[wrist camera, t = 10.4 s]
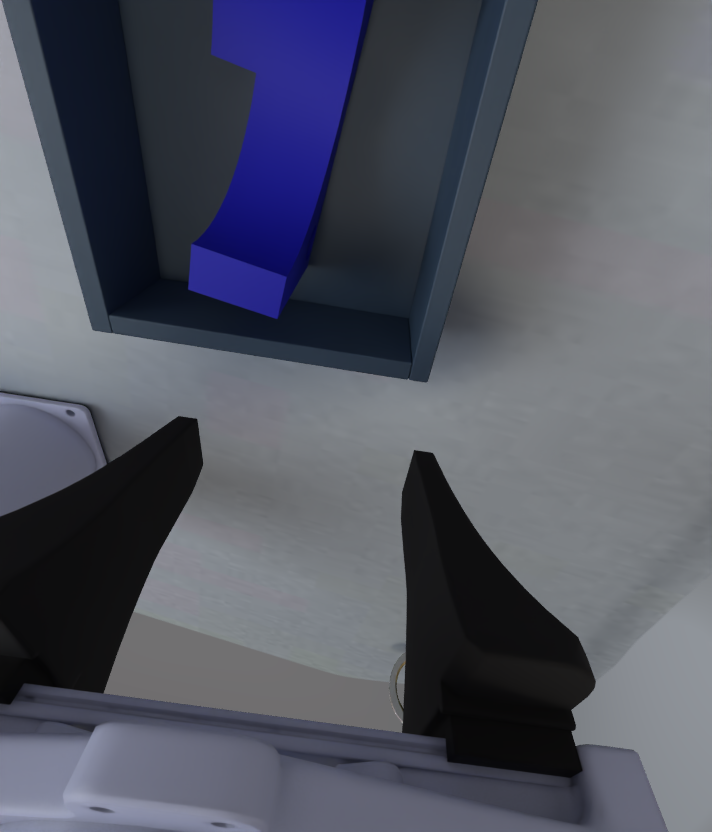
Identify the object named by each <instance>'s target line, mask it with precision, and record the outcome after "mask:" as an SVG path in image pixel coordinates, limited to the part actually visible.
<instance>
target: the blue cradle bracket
mask: <svg viewBox="0 0 712 832" xmlns="http://www.w3.org/2000/svg"><path fill="white" fill-rule="evenodd" d="M373 2H374V0H213V26H212V46H211V55H213V56H216V57H218V58H221V59H223V60H226V61H228V62H231V63H233V64H235V65H238V66H240V67H243V68H245V69H248V70H250V71H252V72H255V73H256V78H255V84H254V91H253V97H252V103H251V108H250V114H249V119H248V123H247V128H246V133H245V137H244V141H243V145H242V149H241V152H240V156H239V159H238V163H237V166H236V169H235V172H234V175H233V178H232V181H231V184H230V186H229V189H228V191H227V194H226V196H225V198H224V201H223V203H222V205H221V207H220V209H219V211H218V213H217V214H216V216H215V218H214V219H213V221H212V223H211V224H210V226H209V227H208V228H207V229H206V231H205V232H204V233H203V234H202V235H201V236H200V237H199V238H198V239H197V240H196V241H195V242H193V243H192V244H191V258H190V272H189V285H188V290H191V291H194V292H197V293H200V294H203V295H206V296H209V297H212V298H215V299H218V300H221V301H224V302H227V303H230V304H233V305H236V306H239V307H242V308H245V309H248V310H251V311H254V312H257V313H260V314H263V315H266V316H269V317H272V318H275V319H278V317H279V315H280V314H281V312H282V310H283V308H284V307H285V305H286V303H287V301H288V300H289V298H290V296H291V294H292V293H293V291H294V289H295V287H296V286H297V284H298V282H299V280H300V279H301V277H302V275H303V274H304V272H305V270H306V268H307V267H308V263H309V259H310V255H311V251H312V247H313V243H314V239H315V235H316V231H317V227H318V223H319V219H320V215H321V211H322V207H323V203H324V199H325V195H326V191H327V187H328V183H329V179H330V175H331V171H332V167H333V163H334V159H335V155H336V151H337V147H338V143H339V139H340V135H341V131H342V127H343V123H344V119H345V115H346V111H347V107H348V103H349V99H350V95H351V91H352V87H353V82H354V78H355V74H356V70H357V66H358V62H359V58H360V54H361V50H362V46H363V42H364V38H365V34H366V30H367V26H368V22H369V18H370V14H371V10H372V6H373Z"/></svg>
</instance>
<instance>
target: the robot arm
mask: <svg viewBox="0 0 712 832" xmlns="http://www.w3.org/2000/svg"><path fill="white" fill-rule="evenodd" d="M202 467H203V457H202V450H201V443H200V436H199V428H198V421H197V419H195V418H188V417H181V416H178V417H177V418H175V419H174V420H172V421H171V422H169V423H168V424H167V425H165V426H164V427H162V428H161V429H159V430H158V431H157V432H155V433H154V434H152V435H151V436H150V437H148V438H147V439H145V440H144V441H142V442H141V443H139V444H138V445H136V446H135V447H133V448H132V449H131V450H129V451H128V452H126V453H125V454H123V455H121V456H120V457H118V458H116V459H115V460H113V461H112V462H110V463H108V464H107V463H106V460H105V456H104V453H103V450H102V447H101V444H100V441H99V438H98V435H97V432H96V429H95V425H94V422H93V419H92V416H91V413H90V411H89V409H88V408H87V407H85V406H83V405H78V404H72V403H65V402H59V401H52V400H46V399H39V398H33V397H26V396H20V395H13V394H7V393H0V832H668V830H667V827H666V825H665V822H664V819H663V817H662V814H661V812H660V809H659V807H658V804H657V802H656V799H655V796H654V794H653V791H652V788H651V786H650V783H649V781H648V778H647V775H646V773H645V770H644V768H643V765H642V762H641V760H640V757H639V755H638V753H637V752H635V751H634V750H630V749H623V748H615V747H608V746H600V745H589V744H585V745H578V746H575V742H574V739H573V736H572V732H571V731H574V730H575V728H576V724H575V721H574V717H573V714H572V711H571V710H572V709H573V708H574V707H575V706H577V705H578V704H579V703H580V702H582V701H583V700H584V699H585V698H587V697H588V696H589V694H590V693H591V692H592V691H593V689H594V688H595V682H596V681H595V678H594V675H593V673H592V670H591V667H590V664H589V661H588V659H587V656H586V654H585V652H584V649H583V647H582V645H581V643H580V641H579V638H578V637H577V636H576V635H575V634H574V633H573V632H572V631H570V630H569V629H568V628H567V627H566V626H565V625H563V624H562V623H561V622H560V621H559V620H558V619H557V618H555V617H554V616H553V615H552V614H551V613H550V612H549V611H547V610H546V609H545V608H544V607H543V606H542V605H541V604H540V603H539V602H538V601H537V600H536V599H535V598H534V597H533V596H532V595H531V594H530V593H529V592H528V591H527V590H526V589H525V588H524V587H523V586H522V585H521V584H520V583H519V582H518V581H517V580H516V578H515V577H514V576H513V575H512V574H511V573H510V572H509V571H508V570H507V569H506V568H505V566H504V565H503V564H502V563H501V562H500V561H499V559H498V558H497V557H496V556H495V554H494V553H493V552H492V551H491V549H490V548H489V547H488V546H487V544H486V543H485V542H484V540H483V539H482V537H481V536H480V535H479V533H478V532H477V530H476V529H475V528H474V526H473V524H472V523H471V521H470V520H469V518H468V517H467V515H466V514H465V512H464V510H463V509H462V507H461V505H460V504H459V502H458V500H457V499H456V497H455V495H454V493H453V492H452V490H451V488H450V486H449V484H448V482H447V480H446V478H445V476H444V474H443V472H442V470H441V468H440V466H439V464H438V462H437V460H436V458H435V456H434V454H433V453H430V452H423V451H416V450H414V453H413V456H412V460H411V463H410V467H409V470H408V474H407V477H406V481H405V484H404V488H403V491H402V507H401V525H402V538H403V550H404V561H405V573H406V587H407V625H406V662H405V690H404V691H405V692H404V709H403V728H402V733H399V732H391V731H383V730H376V729H369V728H360V727H353V726H346V725H337V724H330V723H323V722H314V721H308V720H300V719H293V718H285V717H277V716H269V715H262V714H254V713H246V712H238V711H232V710H224V709H216V708H209V707H201V706H193V705H186V704H178V703H171V702H163V701H155V700H148V699H140V698H132V697H125V696H118V695H110V694H103V693H104V690H105V687H106V684H107V681H108V678H109V676H110V673H111V670H112V667H113V664H114V661H115V658H116V655H117V652H118V650H119V647H120V644H121V642H122V639H123V637H124V634H125V631H126V629H127V626H128V623H129V621H130V618H131V615H132V613H133V611H134V608H135V606H136V603H137V601H138V598H139V596H140V593H141V591H142V588H143V586H144V584H145V582H146V579H147V577H148V575H149V572H150V570H151V568H152V565H153V563H154V561H155V559H156V557H157V555H158V553H159V551H160V549H161V547H162V545H163V544H164V542H165V540H166V538H167V537H168V535H169V533H170V531H171V529H172V528H173V526H174V524H175V522H176V521H177V519H178V517H179V515H180V513H181V512H182V510H183V508H184V506H185V504H186V503H187V501H188V499H189V497H190V495H191V494H192V492H193V489H194V487H195V485H196V482H197V480H198V477H199V475H200V472H201V469H202Z"/></svg>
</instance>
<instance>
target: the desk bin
mask: <svg viewBox="0 0 712 832" xmlns="http://www.w3.org/2000/svg"><path fill="white" fill-rule="evenodd" d="M537 2H538V0H374V2H373V6H372V10H371V14H370V18H369V22H368V26H367V30H366V34H365V38H364V42H363V46H362V50H361V54H360V58H359V62H358V66H357V70H356V74H355V78H354V82H353V87H352V91H351V95H350V99H349V103H348V107H347V111H346V115H345V119H344V123H343V127H342V131H341V135H340V139H339V143H338V147H337V151H336V155H335V159H334V163H333V167H332V171H331V175H330V179H329V183H328V187H327V191H326V195H325V199H324V203H323V207H322V211H321V215H320V219H319V223H318V227H317V231H316V235H315V239H314V243H313V247H312V251H311V255H310V259H309V263H308V267H307V268H306V270H305V272H304V274H303V275H302V277H301V279H300V280H299V282H298V284H297V286H296V287H295V289H294V291H293V293H292V294H291V296H290V298H289V300H288V301H287V303H286V305H285V307H284V308H283V310H282V312H281V314H280V315H279V317H278V319H275V318H272V317H269V316H266V315H263V314H260V313H257V312H254V311H251V310H248V309H245V308H242V307H239V306H236V305H233V304H230V303H227V302H224V301H221V300H218V299H215V298H212V297H209V296H206V295H203V294H200V293H197V292H194V291H191V290H188V285H189V272H190V258H191V244H192V243H193V242H195V241H196V240H197V239H198V238H199V237H200V236H201V235H202V234H203V233H204V232H205V231H206V229H207V228H208V227H209V226H210V224H211V223H212V221H213V219H214V218H215V216H216V214H217V213H218V211H219V209H220V207H221V205H222V203H223V201H224V198H225V196H226V194H227V191H228V189H229V186H230V184H231V181H232V178H233V175H234V172H235V169H236V166H237V163H238V159H239V156H240V152H241V149H242V145H243V141H244V137H245V133H246V128H247V123H248V119H249V114H250V108H251V103H252V97H253V91H254V84H255V78H256V73H255V72H252V71H250V70H248V69H245V68H243V67H240V66H238V65H235V64H233V63H231V62H228V61H226V60H223V59H221V58H218V57H216V56H213V55H211V46H212V26H213V0H2V4H3V7H4V11H5V15H6V18H7V22H8V25H9V29H10V33H11V36H12V40H13V44H14V47H15V51H16V54H17V58H18V62H19V65H20V69H21V73H22V76H23V80H24V83H25V87H26V91H27V94H28V98H29V102H30V105H31V109H32V112H33V116H34V120H35V123H36V127H37V130H38V134H39V138H40V141H41V145H42V149H43V152H44V156H45V159H46V163H47V167H48V170H49V174H50V178H51V181H52V185H53V188H54V192H55V196H56V199H57V203H58V206H59V210H60V214H61V217H62V221H63V225H64V228H65V232H66V235H67V239H68V243H69V246H70V250H71V254H72V257H73V261H74V264H75V268H76V272H77V275H78V279H79V282H80V286H81V290H82V293H83V297H84V301H85V304H86V308H87V311H88V315H89V319H90V322H91V326H92V329H93V330H95V331H101V332H107V333H115V334H121V335H128V336H134V337H140V338H147V339H153V340H159V341H166V342H172V343H178V344H185V345H191V346H197V347H204V348H210V349H216V350H223V351H229V352H235V353H242V354H248V355H254V356H261V357H267V358H273V359H280V360H286V361H292V362H299V363H305V364H311V365H318V366H324V367H330V368H337V369H343V370H349V371H356V372H362V373H368V374H375V375H381V376H387V377H394V378H400V379H406V380H407V379H408V378H409V380H413V381H420V382H428V379H429V376H430V372H431V369H432V365H433V362H434V358H435V355H436V351H437V348H438V344H439V341H440V338H441V334H442V331H443V327H444V324H445V320H446V317H447V313H448V310H449V306H450V303H451V300H452V296H453V293H454V289H455V286H456V282H457V279H458V275H459V272H460V268H461V265H462V262H463V258H464V255H465V251H466V248H467V244H468V241H469V237H470V234H471V230H472V227H473V223H474V220H475V217H476V213H477V210H478V206H479V203H480V199H481V196H482V192H483V189H484V185H485V182H486V179H487V175H488V172H489V168H490V165H491V161H492V158H493V154H494V151H495V147H496V144H497V141H498V137H499V134H500V130H501V127H502V123H503V120H504V116H505V113H506V109H507V106H508V102H509V99H510V96H511V92H512V89H513V85H514V82H515V78H516V75H517V71H518V68H519V64H520V61H521V58H522V54H523V51H524V47H525V44H526V40H527V37H528V33H529V30H530V26H531V23H532V20H533V16H534V13H535V9H536V6H537Z"/></svg>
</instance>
